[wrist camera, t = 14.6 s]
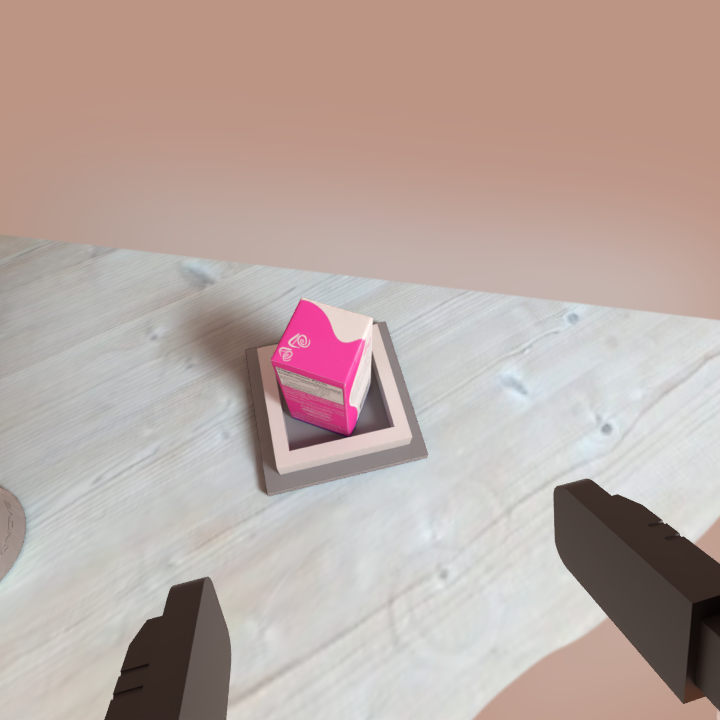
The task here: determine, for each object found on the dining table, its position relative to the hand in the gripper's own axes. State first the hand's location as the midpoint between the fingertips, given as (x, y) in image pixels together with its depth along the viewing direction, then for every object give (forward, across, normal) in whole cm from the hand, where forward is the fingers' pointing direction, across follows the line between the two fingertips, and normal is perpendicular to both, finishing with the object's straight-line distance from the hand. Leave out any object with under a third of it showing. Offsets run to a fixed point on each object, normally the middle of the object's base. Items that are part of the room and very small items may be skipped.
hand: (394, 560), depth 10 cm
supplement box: (+31, -1, +9) cm, 32 cm away
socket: (+31, -1, +9) cm, 33 cm away
